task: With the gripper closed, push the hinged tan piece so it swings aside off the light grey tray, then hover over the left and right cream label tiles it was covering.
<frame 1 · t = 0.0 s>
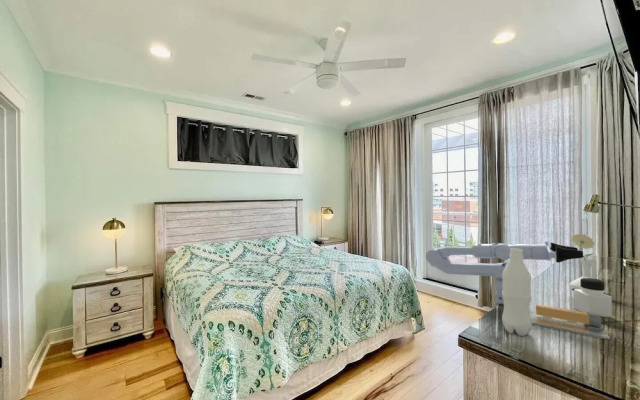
hand: (580, 252, 96), 22 cm above the dresser top, tool horizontal, fingers open, 7 cm apart
tan piece: (566, 314, 88), point 3 cm above the dresser top, hinge at 0.0°
water bottle: (516, 332, 83), on the dresser top
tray: (563, 323, 89), on the dresser top
flower in vase: (585, 290, 122), on the dresser top
medicine bottle: (592, 313, 97), on the dresser top
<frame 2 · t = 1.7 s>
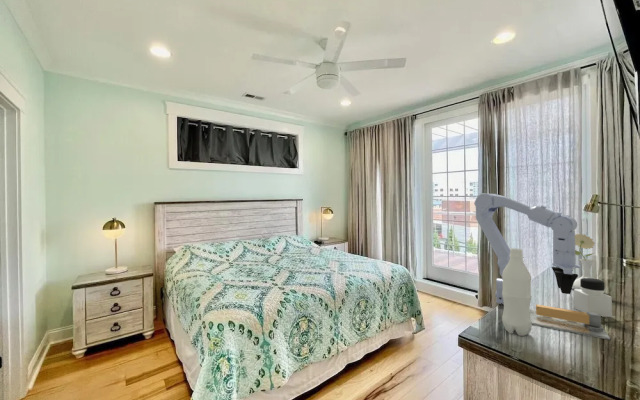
hand: (564, 290, 94), 9 cm above the dresser top, tool pointing down, fingers open, 6 cm apart
nothing on the dresser top moved.
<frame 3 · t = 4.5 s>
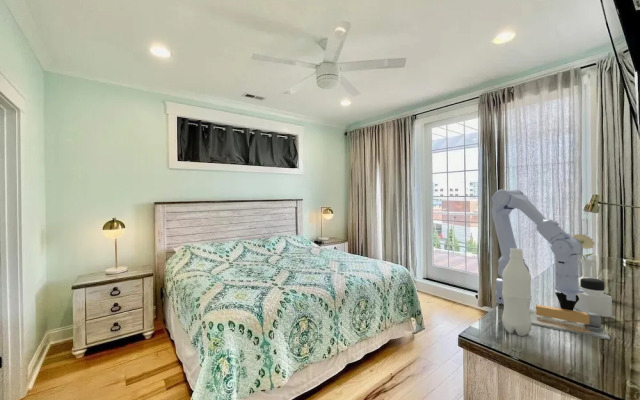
hand: (566, 316, 90), 2 cm above the dresser top, tool pointing down, fingers closed, pressing on tan piece
tan piece: (567, 314, 88), point 3 cm above the dresser top, hinge at 0.8°, touching gripper
everything else where it was.
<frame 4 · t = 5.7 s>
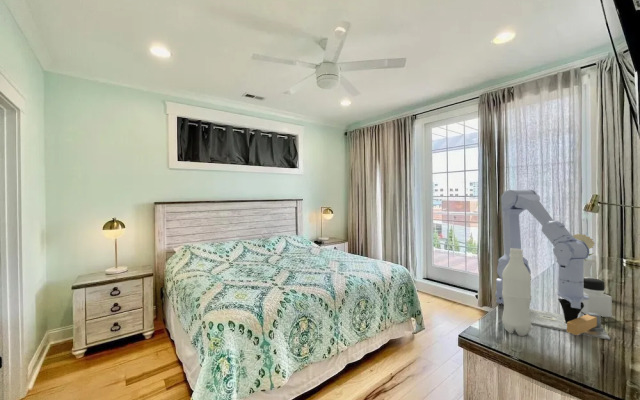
hand: (570, 324, 84), 2 cm above the dresser top, tool pointing down, fingers closed
tan piece: (584, 323, 82), point 3 cm above the dresser top, hinge at 60.3°, touching gripper
everything else where it was.
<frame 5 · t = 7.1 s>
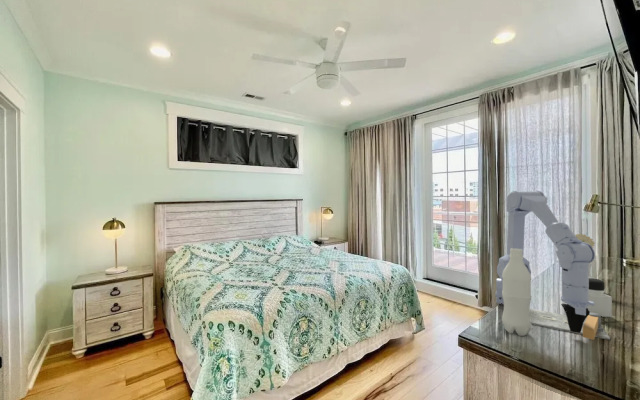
hand: (574, 331, 79), 2 cm above the dresser top, tool pointing down, fingers closed
tan piece: (591, 325, 81), point 3 cm above the dresser top, hinge at 74.5°, touching gripper
everything else where it was.
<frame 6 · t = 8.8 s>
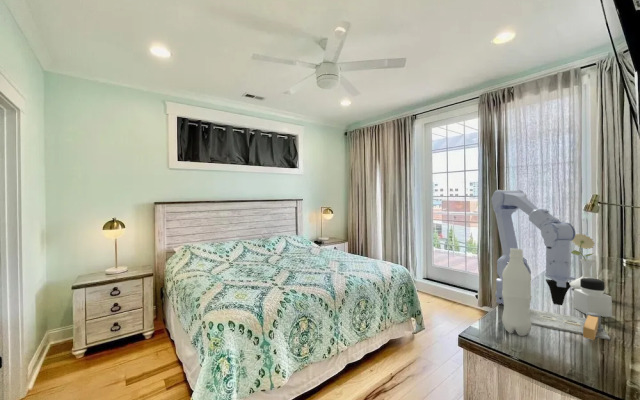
hand: (557, 304, 86), 7 cm above the dresser top, tool pointing down, fingers closed
tan piece: (591, 325, 81), point 3 cm above the dresser top, hinge at 74.8°
everything else where it was.
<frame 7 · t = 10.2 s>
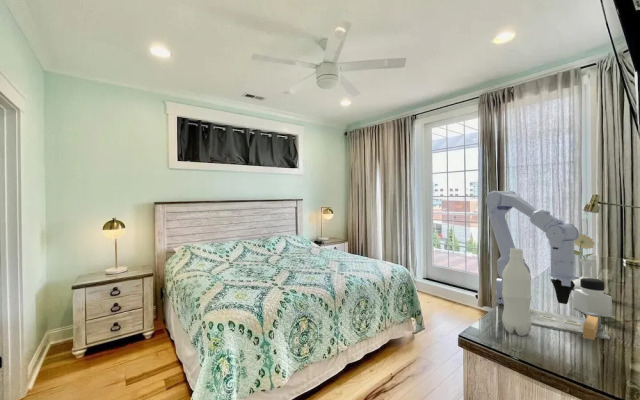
hand: (562, 303, 89), 6 cm above the dresser top, tool pointing down, fingers closed
nothing on the dresser top moved.
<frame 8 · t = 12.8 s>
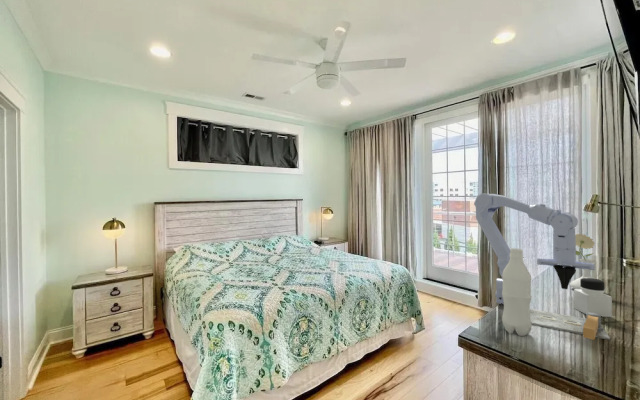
hand: (564, 288, 93), 10 cm above the dresser top, tool pointing down, fingers closed
nothing on the dresser top moved.
at the end: tan piece at +75° (first picture: +0°); medicine bottle moved 0.2 cm from its start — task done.
